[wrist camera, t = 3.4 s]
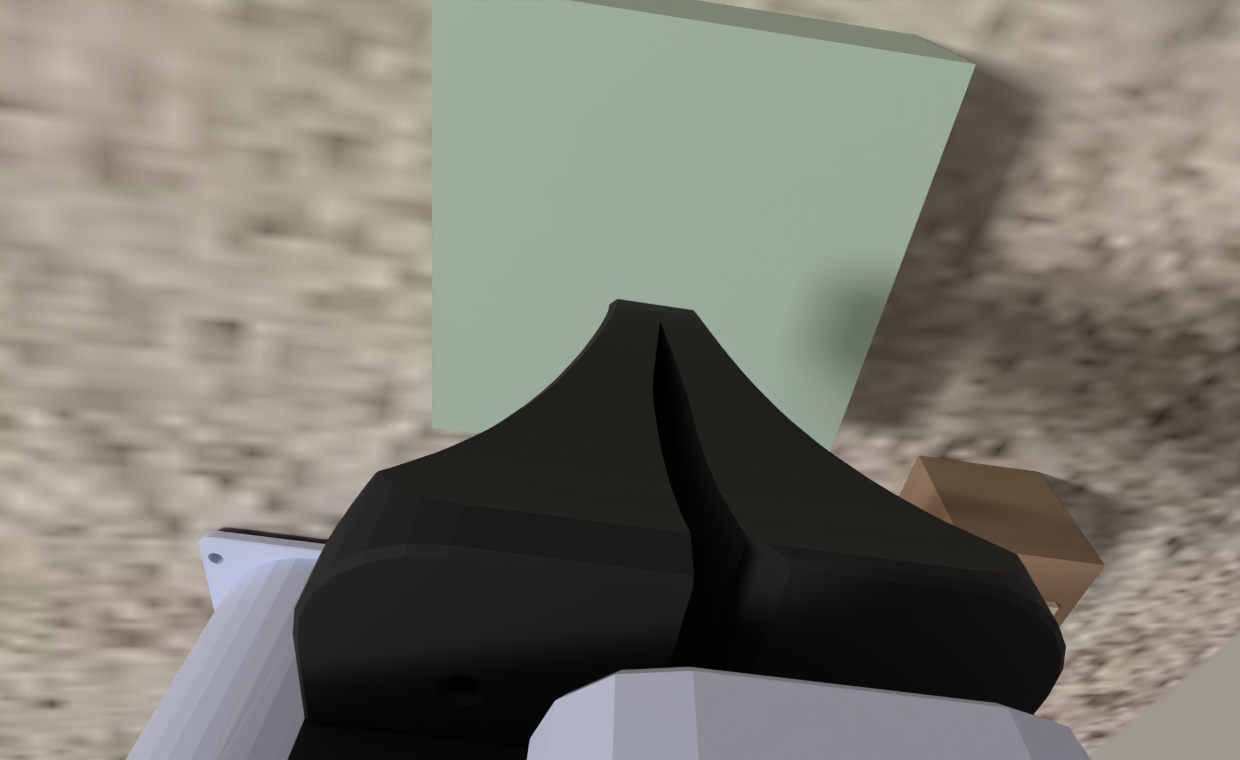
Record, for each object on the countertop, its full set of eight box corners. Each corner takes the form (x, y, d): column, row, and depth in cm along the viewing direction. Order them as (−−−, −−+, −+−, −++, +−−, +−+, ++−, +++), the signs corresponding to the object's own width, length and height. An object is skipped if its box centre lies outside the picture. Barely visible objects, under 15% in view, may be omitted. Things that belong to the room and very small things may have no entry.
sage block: (794, 389, 22) (821, 475, 19) (464, 346, 22) (432, 427, 18) (909, 32, 17) (976, 64, 14) (474, -37, 16) (431, -21, 13)
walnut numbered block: (985, 557, 26) (1040, 662, 22) (875, 543, 25) (912, 646, 22) (1038, 470, 23) (1108, 570, 20) (917, 454, 23) (967, 552, 20)
